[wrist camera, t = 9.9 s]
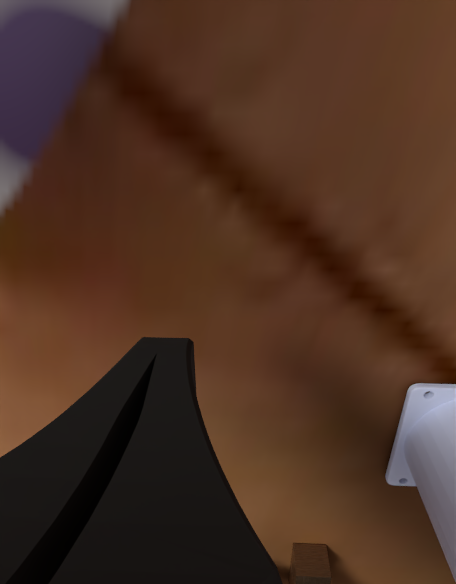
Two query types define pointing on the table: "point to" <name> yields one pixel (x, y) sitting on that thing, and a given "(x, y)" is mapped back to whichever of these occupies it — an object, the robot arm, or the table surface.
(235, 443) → the table surface
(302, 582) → the shaft
